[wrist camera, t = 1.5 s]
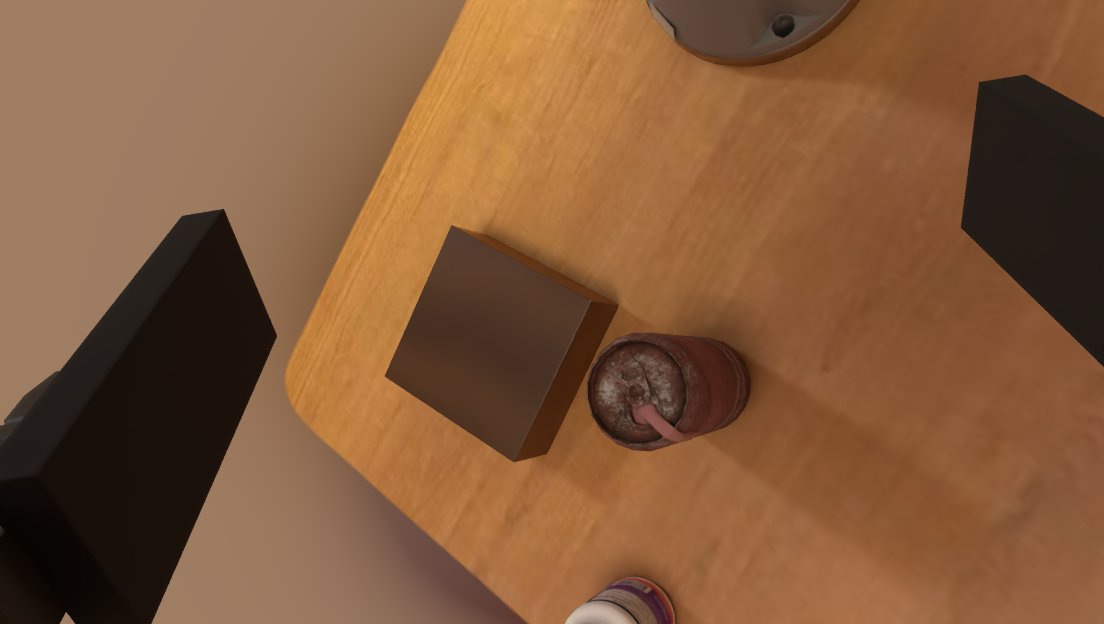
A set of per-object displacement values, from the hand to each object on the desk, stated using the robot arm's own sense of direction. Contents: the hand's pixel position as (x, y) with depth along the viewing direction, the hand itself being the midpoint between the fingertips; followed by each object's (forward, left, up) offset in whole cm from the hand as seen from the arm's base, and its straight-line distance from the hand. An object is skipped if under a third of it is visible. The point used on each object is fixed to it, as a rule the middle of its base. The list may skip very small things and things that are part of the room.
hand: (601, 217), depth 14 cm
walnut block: (+12, -19, -40) cm, 46 cm away
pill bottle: (+24, -2, -40) cm, 47 cm away
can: (+8, -5, -40) cm, 41 cm away
